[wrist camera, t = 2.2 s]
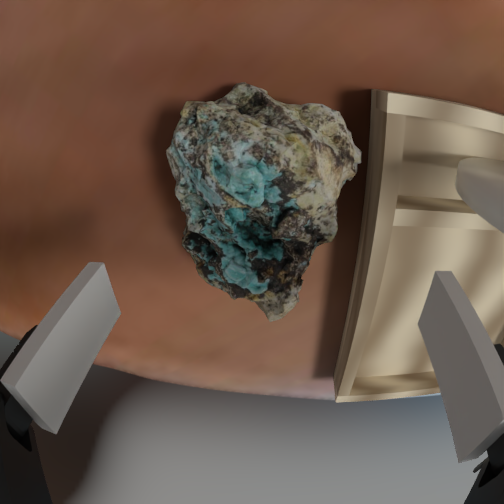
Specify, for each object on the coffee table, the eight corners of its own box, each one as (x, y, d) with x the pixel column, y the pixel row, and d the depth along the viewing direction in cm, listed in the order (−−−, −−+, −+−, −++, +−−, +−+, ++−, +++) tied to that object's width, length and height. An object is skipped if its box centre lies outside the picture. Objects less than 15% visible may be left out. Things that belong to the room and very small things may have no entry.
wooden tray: (333, 375, 28) (335, 402, 25) (371, 88, 15) (387, 92, 13) (488, 360, 26) (497, 381, 23) (570, 138, 13) (594, 150, 11)
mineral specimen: (197, 72, 15) (119, 155, 10) (372, 98, 14) (393, 202, 9) (206, 225, 25) (171, 316, 20) (325, 248, 24) (314, 347, 19)
